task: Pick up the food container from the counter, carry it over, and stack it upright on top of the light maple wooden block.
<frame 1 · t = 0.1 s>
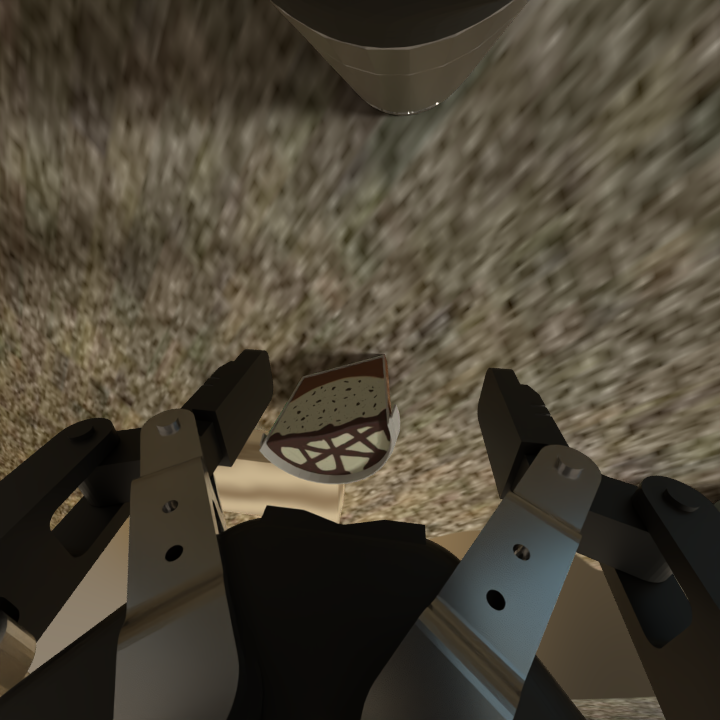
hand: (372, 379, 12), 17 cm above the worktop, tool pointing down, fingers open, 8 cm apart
maple block: (285, 459, 43), on the worktop
food container: (353, 387, 35), on the worktop
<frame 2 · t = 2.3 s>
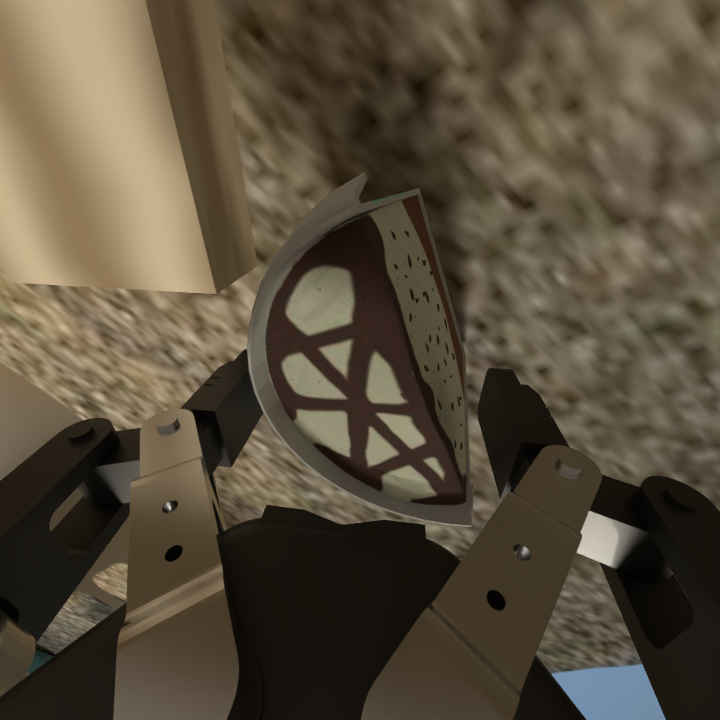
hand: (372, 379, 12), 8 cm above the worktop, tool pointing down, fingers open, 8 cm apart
maple block: (123, 89, 15), on the worktop
food container: (391, 295, 18), on the worktop, touching gripper
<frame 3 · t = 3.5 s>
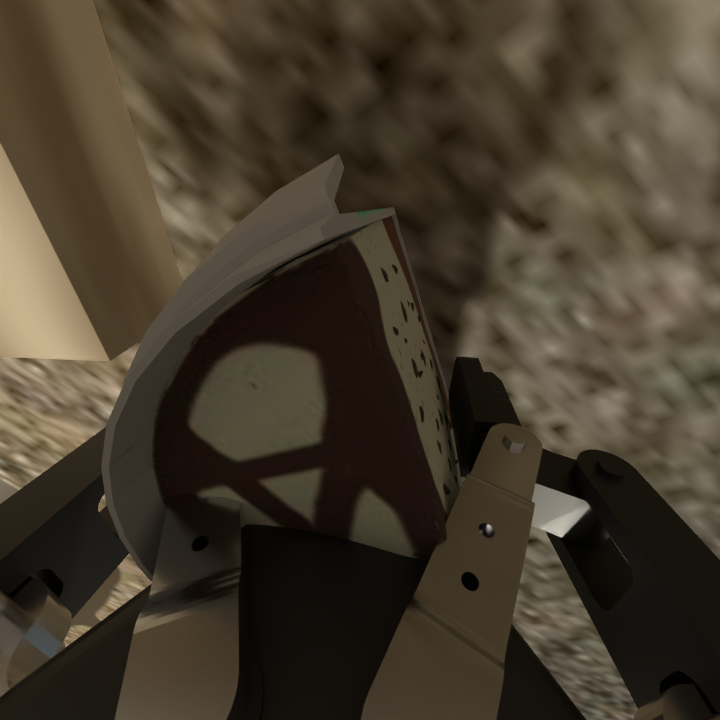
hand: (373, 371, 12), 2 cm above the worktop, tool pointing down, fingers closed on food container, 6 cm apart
food container: (359, 340, 14), on the worktop, touching gripper
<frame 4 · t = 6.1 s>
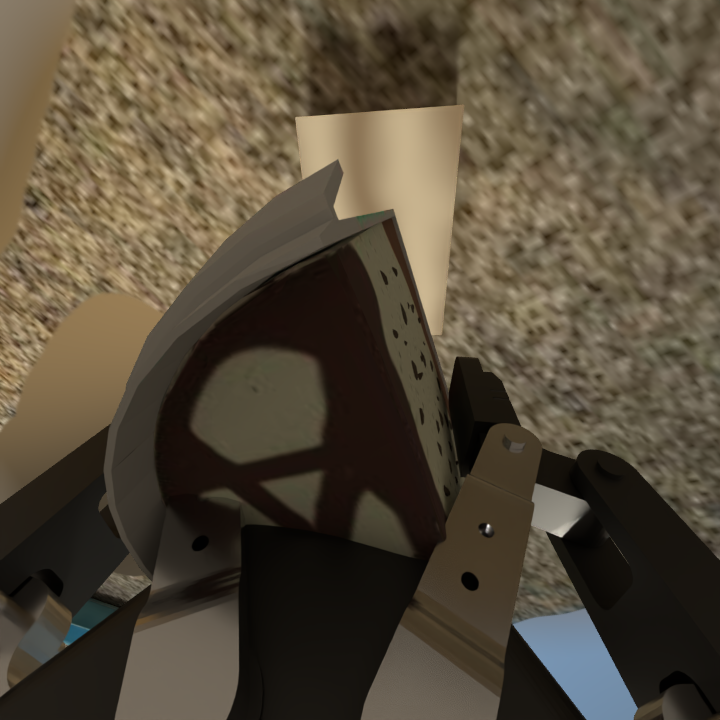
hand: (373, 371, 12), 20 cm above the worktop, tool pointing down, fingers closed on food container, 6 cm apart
maple block: (383, 229, 29), on the worktop
food container: (360, 341, 14), point 18 cm above the worktop, touching gripper
casserole dish: (108, 611, 94), on the worktop
when the fingers open (8 cm above the worktop, at t = 9.0 s): food container drops 2 cm, resting on maple block.
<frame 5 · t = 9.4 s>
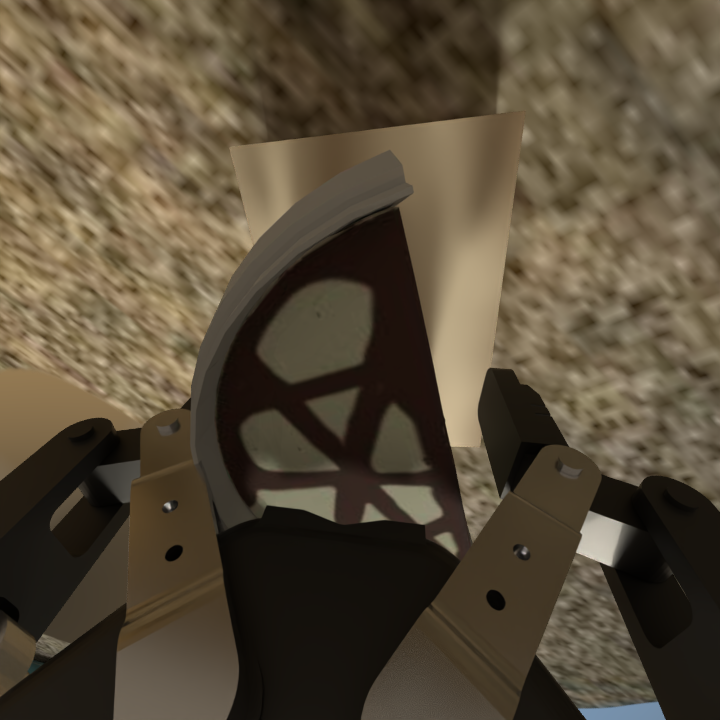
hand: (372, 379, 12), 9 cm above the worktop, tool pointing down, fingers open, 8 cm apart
maple block: (385, 293, 20), on the worktop, touching food container
food container: (347, 326, 16), point 5 cm above the worktop, touching gripper, maple block
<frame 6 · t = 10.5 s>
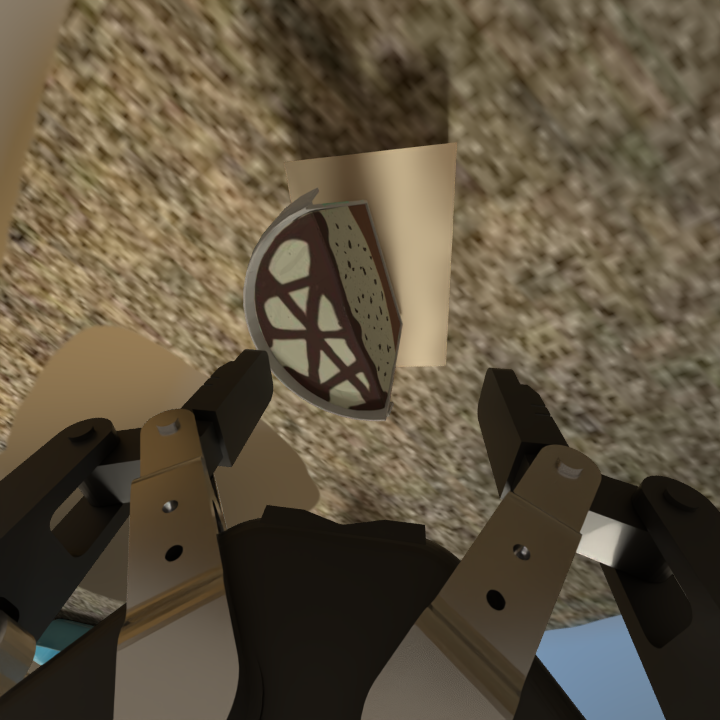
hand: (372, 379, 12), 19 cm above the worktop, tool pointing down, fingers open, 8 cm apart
maple block: (379, 260, 29), on the worktop, touching food container
food container: (348, 277, 25), point 4 cm above the worktop, touching maple block
casserole dish: (108, 637, 91), on the worktop
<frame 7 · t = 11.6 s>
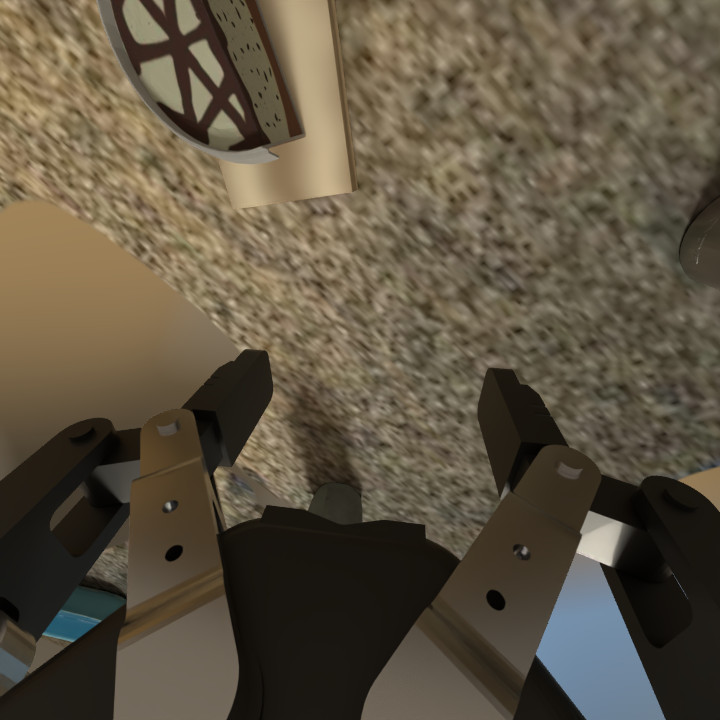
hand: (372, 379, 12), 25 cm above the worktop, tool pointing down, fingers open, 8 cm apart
maple block: (285, 97, 29), on the worktop, touching food container
bottle: (338, 497, 56), on the worktop
food container: (246, 82, 25), point 4 cm above the worktop, touching maple block
casserole dish: (85, 596, 90), on the worktop
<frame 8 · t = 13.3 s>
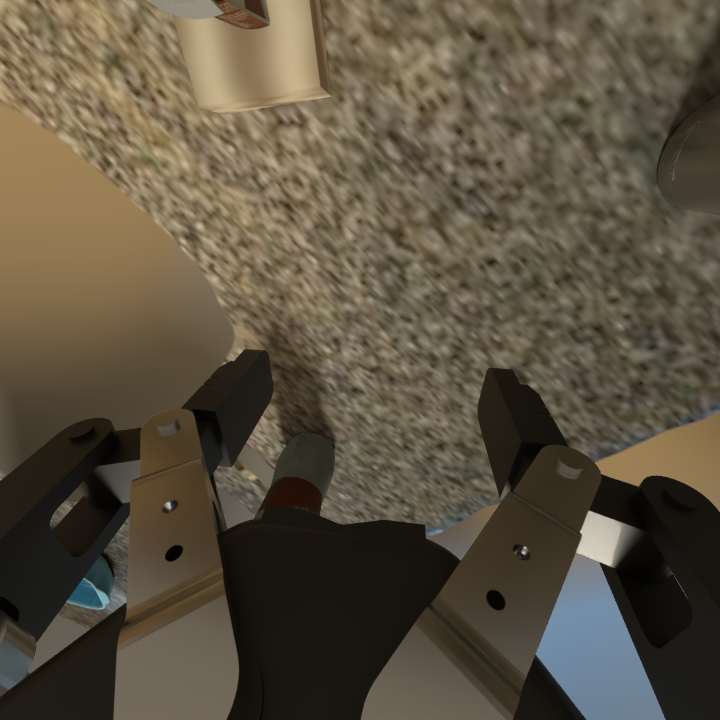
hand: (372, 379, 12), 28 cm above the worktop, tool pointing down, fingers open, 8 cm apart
bottle: (312, 448, 55), on the worktop
casserole dish: (64, 554, 91), on the worktop
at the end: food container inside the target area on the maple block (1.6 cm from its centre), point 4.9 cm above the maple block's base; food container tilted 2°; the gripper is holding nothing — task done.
